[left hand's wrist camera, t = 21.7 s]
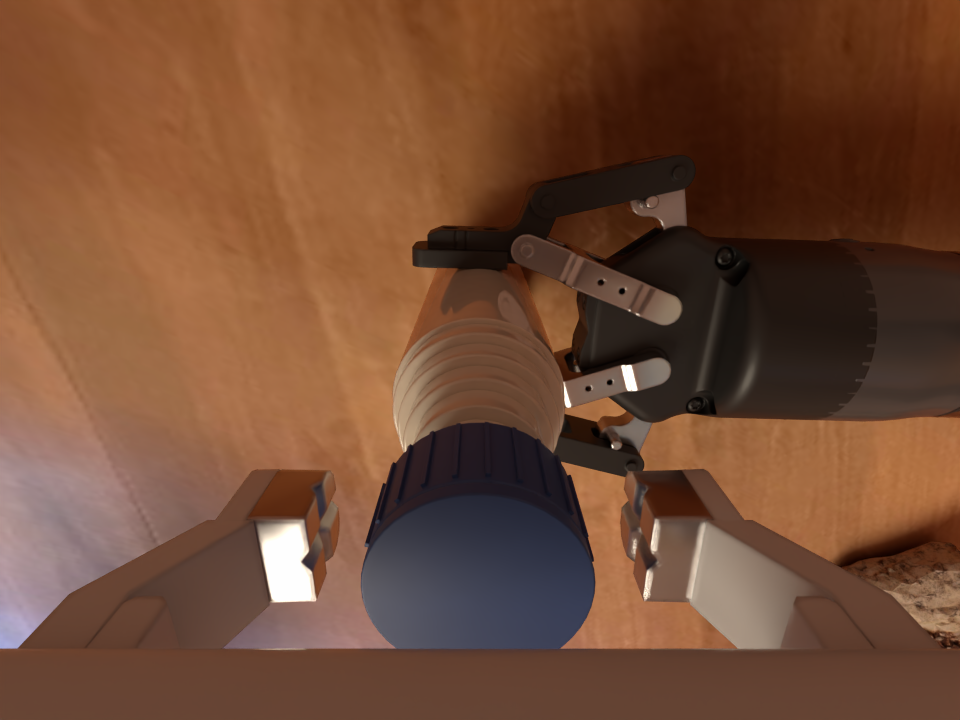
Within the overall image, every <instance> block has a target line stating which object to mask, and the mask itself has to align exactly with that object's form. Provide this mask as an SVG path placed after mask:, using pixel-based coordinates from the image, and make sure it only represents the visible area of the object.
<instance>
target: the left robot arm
mask: <svg viewBox="0 0 960 720" xmlns="http://www.w3.org/2000/svg"><path fill="white" fill-rule="evenodd" d="M335 490H336V486H335V479H334V474H333V473H332V472H331V471H330V470H279V469H257V470H254V471H252V472H251V473H250V474H249V476H248V477H247V478H246V480H245V481H244V482H243V484H242V485H241V486H240V488H239V489H238V490H237V492H236V493H235V494H234V496H233V497H232V498H231V500H230V501H229V503H228V504H227V505H226V507H225V508H224V509H223V511H222V512H221V513H220V515H219V516H218V517H217V519H216V520H207V521H205V522H203V523H201V524H199V525H198V526H196V527H194V528H192V529H190V530H188V531H186V532H184V533H183V534H181V535H179V536H177V537H175V538H173V539H171V540H170V541H168V542H166V543H164V544H162V545H160V546H158V547H156V548H155V549H153V550H151V551H149V552H147V553H145V554H143V555H141V556H140V557H138V558H136V559H134V560H132V561H130V562H128V563H126V564H125V565H123V566H121V567H119V568H117V569H115V570H113V571H112V572H110V573H108V574H106V575H104V576H102V577H100V578H98V579H97V580H95V581H93V582H91V583H89V584H87V585H85V586H83V587H82V588H80V589H78V590H76V591H74V592H72V593H70V594H69V595H68V596H67V597H66V598H65V599H64V600H63V601H62V602H61V603H60V604H59V605H58V607H57V608H56V609H55V610H54V611H53V612H52V613H51V614H50V615H49V616H48V617H47V618H46V619H45V620H44V621H43V622H42V623H41V624H40V625H39V627H38V628H37V629H36V630H35V631H34V632H33V633H32V634H31V635H30V636H29V637H28V638H27V639H26V640H25V641H24V642H23V643H22V644H21V645H20V647H19V648H18V649H0V720H960V649H942V648H941V647H940V646H939V644H938V643H937V642H936V641H935V640H934V639H933V638H932V637H931V636H930V635H929V634H928V633H927V632H926V631H925V630H924V629H923V628H922V626H921V625H920V624H919V623H918V622H917V621H916V620H915V619H914V618H913V617H912V616H911V615H910V614H909V613H908V612H907V611H906V610H905V608H904V607H903V606H902V605H901V604H900V603H899V602H898V601H897V600H896V599H895V598H894V597H893V596H892V595H891V594H889V593H887V592H885V591H884V590H882V589H880V588H878V587H876V586H874V585H872V584H870V583H869V582H867V581H865V580H863V579H861V578H859V577H857V576H856V575H854V574H852V573H850V572H848V571H846V570H844V569H843V568H841V567H839V566H837V565H835V564H833V563H831V562H829V561H828V560H826V559H824V558H822V557H820V556H818V555H816V554H815V553H813V552H811V551H809V550H807V549H805V548H803V547H801V546H800V545H798V544H796V543H794V542H792V541H790V540H788V539H787V538H785V537H783V536H781V535H779V534H777V533H775V532H774V531H772V530H770V529H768V528H766V527H764V526H762V525H760V524H759V523H757V522H755V521H753V520H744V519H743V518H742V516H741V515H740V513H739V512H738V511H737V509H736V508H735V507H734V505H733V504H732V503H731V501H730V500H729V499H728V497H727V496H726V495H725V493H724V492H723V491H722V489H721V488H720V487H719V485H718V484H717V483H716V481H715V480H714V479H713V477H712V476H711V475H710V473H709V472H708V471H706V470H704V469H690V470H665V471H628V472H627V475H626V478H625V485H624V490H625V493H626V495H627V498H628V500H629V501H628V502H627V503H626V504H625V505H624V506H623V507H622V510H621V521H620V524H621V537H622V542H623V547H624V549H625V552H626V555H627V557H629V558H630V559H631V560H633V561H634V562H635V564H634V572H633V574H634V577H635V579H636V582H637V585H638V587H639V590H640V592H641V595H642V598H643V600H644V601H659V602H691V603H690V605H691V606H692V607H694V608H695V609H696V610H697V611H698V612H699V613H700V614H701V615H702V616H703V617H704V618H705V619H707V620H708V621H709V622H710V623H711V624H712V625H713V626H714V627H715V628H716V629H717V630H719V631H720V632H721V633H722V634H723V635H724V636H725V637H726V638H727V639H728V640H729V641H731V642H732V643H733V644H734V645H735V646H736V647H737V648H738V649H222V648H223V647H224V646H225V645H226V644H227V643H229V642H230V641H231V640H232V639H233V638H234V637H235V636H236V635H237V634H238V633H239V632H241V631H242V630H243V629H244V628H245V627H246V626H247V625H248V624H249V623H250V622H251V621H253V620H254V619H255V618H256V617H257V616H258V615H259V614H260V613H261V612H262V611H263V610H265V609H266V608H267V607H268V606H269V602H300V601H316V600H317V598H318V595H319V592H320V590H321V587H322V585H323V582H324V579H325V577H326V574H327V572H326V564H325V562H326V561H327V560H329V559H330V558H331V557H333V555H334V552H335V549H336V546H337V542H338V535H339V510H338V507H337V506H336V505H335V504H334V503H333V502H332V501H331V500H332V497H333V495H334V493H335Z"/></svg>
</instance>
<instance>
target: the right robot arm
mask: <svg viewBox="0 0 960 720" xmlns="http://www.w3.org/2000/svg"><path fill="white" fill-rule="evenodd" d="M694 177H695V165H694V162H693V161H692V160H691V159H690V158H689V157H687V156H684V155H665V156H653V157H649V158H644V159H640V160H635V161H631V162H627V163H622V164H618V165H613V166H609V167H604V168H600V169H595V170H591V171H586V172H582V173H577V174H573V175H568V176H564V177H559V178H555V179H550V180H546V181H541V182H537V183H535V184H533V185H532V186H531V187H530V188H529V189H528V191H527V194H526V199H525V201H524V204H523V206H522V209H521V211H520V214H519V216H518V218H517V219H516V220H515V221H514V222H513V223H512V224H510V225H509V226H506V227H475V226H444V225H443V226H440V227H438V228H435V229H432V230H430V232H429V233H428V241H418V242H416V243H415V244H414V246H413V247H412V258H413V266H416V267H428V268H459V269H491V270H507V265H508V263H510V264H519V265H521V266H523V267H526V268H528V269H531V270H533V271H536V272H538V273H541V274H543V275H546V276H548V277H551V278H553V279H556V280H558V281H560V282H562V283H564V284H565V285H567V286H569V287H571V288H573V289H575V290H578V291H577V306H578V312H579V321H578V323H577V326H576V328H575V331H574V334H573V340H572V347H570V348H567V349H564V350H560V351H557V352H554V355H555V358H556V360H557V363H558V366H559V368H560V371H561V374H562V377H563V382H564V388H565V402H564V403H565V408H570V407H574V406H578V405H581V404H585V403H588V402H592V401H595V400H599V399H602V398H605V397H609V398H610V399H612V400H613V401H614V402H616V403H617V404H618V405H620V406H621V407H622V408H624V409H625V410H626V412H625V413H624V414H623V415H621V416H617V417H612V416H603V417H601V418H600V420H599V421H598V422H594V421H590V420H586V419H583V418H579V417H575V416H571V415H567V414H564V422H563V426H562V430H561V433H560V435H559V438H558V442H557V445H556V448H555V450H554V453H553V454H554V455H555V456H556V455H558V456H559V457H560V461H561V462H565V463H570V464H574V465H578V466H582V467H586V468H590V469H594V470H598V471H603V472H607V473H611V474H615V475H619V476H623V477H626V475H627V472H628V471H643V469H644V461H643V459H642V457H641V455H640V450H641V448H642V445H643V443H644V441H645V439H646V436H647V434H648V432H649V430H650V428H651V425H652V423H656V422H661V421H664V420H666V419H668V418H671V417H673V416H676V415H680V414H686V413H690V414H698V415H704V416H710V417H720V418H757V419H795V420H832V421H886V420H897V419H904V418H913V417H947V418H960V251H934V250H928V249H922V248H916V247H911V246H905V245H899V244H888V243H873V242H860V241H856V240H853V239H832V240H830V241H810V240H779V239H747V238H715V237H707V236H705V235H703V234H701V233H700V232H699V231H697V230H696V229H694V228H692V227H688V226H687V216H686V201H685V188H686V187H688V186H689V185H690V184H691V182H692V181H693V179H694ZM624 202H625V206H626V208H627V210H628V211H630V212H631V213H633V214H636V215H639V216H642V217H649V216H650V217H651V218H652V219H653V220H654V221H655V224H656V227H655V228H654V229H652V230H651V231H649V232H648V233H646V234H645V235H643V236H641V237H640V238H638V239H637V240H635V241H634V242H632V243H630V244H629V245H627V246H626V247H624V248H623V249H621V250H620V251H618V252H616V253H615V254H613V255H612V256H610V257H609V258H607V259H605V258H602V257H600V256H597V255H595V254H592V253H590V252H588V251H585V250H583V249H580V248H578V247H576V246H573V245H571V244H568V243H564V242H561V241H559V240H556V239H554V238H552V237H549V236H548V235H549V233H550V230H551V228H552V226H553V223H554V221H555V219H556V217H560V216H564V215H569V214H573V213H578V212H583V211H587V210H592V209H596V208H601V207H606V206H610V205H615V204H619V203H624ZM575 360H576V361H575Z"/></svg>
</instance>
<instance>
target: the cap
mask: <svg viewBox="0 0 960 720" xmlns="http://www.w3.org/2000/svg"><path fill="white" fill-rule="evenodd" d="M588 537H589V536H588V533H587V529H586V526H585V522H584V519H583V515H582V512H581V508H580V505H579V501H578V498H577V494H576V491H575V487H574V484H573V481H572V477H571V475H568V476H567V474H566V471H565V469H564V467H563V466H562V464H561V461H560V457H559V456H558V455H556V456H555V455H554V454H553V453H552V452H551V451H550V450H549V449H548V448H547V447H546V446H545V445H543V444H542V443H541V440H540V439H538V438H537V439H535V438H533V437H532V436H530V435H528V434H527V433H525V432H522V431H520V430H517V428H515V427H512V428H511V427H508V426H504V425H499V424H494V423H489V422H485V423H483V422H480V423H464V424H461V423H457V424H456V425H452V426H448V427H445V428H442V429H440V430H437V431H435V432H434V431H431V432H430V434H429V435H427V436H425V437H423V438H422V439H420V440H418V441H417V442H416V443H415V444H413V445H411V444H410V445H409V446H408V447H407V451H405V452H404V453H403V455H402V456H401V457H400V458H399V460H398V461H397V462H396V463H394V462H393V463H392V465H391V468H390V472H389V475H388V479H387V482H386V484H384V483H383V485H382V489H381V492H380V495H379V499H378V502H377V506H376V509H375V512H374V516H373V519H372V522H371V526H370V529H369V532H368V536H367V539H366V542H365V547H368V550H367V553H366V556H365V560H364V563H363V568H362V573H361V591H362V598H363V601H364V605H365V608H366V611H367V613H368V615H369V617H370V619H371V621H372V623H373V624H374V625H375V627H376V628H377V630H378V631H379V632H380V633H381V634H382V636H383V637H384V638H385V639H386V640H387V641H388V642H389V643H391V644H392V645H393V646H394V647H395V648H397V649H559V648H561V647H562V646H564V645H565V644H566V643H567V642H568V641H569V640H570V639H571V638H572V637H573V636H574V635H575V634H576V632H577V631H578V630H579V629H580V627H581V626H582V624H583V623H584V621H585V619H586V618H587V615H588V613H589V611H590V608H591V606H592V602H593V598H594V593H595V573H594V567H593V564H592V562H594V558H593V554H592V551H591V547H590V544H589V540H588Z"/></svg>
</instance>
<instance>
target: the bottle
mask: <svg viewBox="0 0 960 720" xmlns="http://www.w3.org/2000/svg"><path fill="white" fill-rule="evenodd" d="M564 402H565V388H564V382H563V377H562V374H561V371H560V368H559V366H558V363H557V360H556V358H555V355H554V352H553V350H552V347H551V345H550V342H549V339H548V337H547V334H546V331H545V329H544V326H543V324H542V321H541V318H540V316H539V313H538V310H537V308H536V305H535V303H534V300H533V297H532V295H531V292H530V289H529V287H528V284H527V282H526V279H525V276H524V274H523V271H522V268H521V266H520V265H519V264H510V263H508V265H507V270H491V269H459V268H437V270H436V272H435V275H434V278H433V280H432V283H431V285H430V288H429V290H428V293H427V295H426V298H425V301H424V303H423V306H422V308H421V311H420V313H419V316H418V319H417V321H416V324H415V326H414V329H413V331H412V334H411V336H410V339H409V342H408V344H407V347H406V349H405V352H404V354H403V357H402V360H401V362H400V365H399V367H398V370H397V372H396V376H395V380H394V385H393V419H394V424H395V428H396V431H397V434H398V436H399V441H400V444H401V447H402V450H403V452H405V451H407V447H408V446H409V445H410V444H411V445H413V444H415V443H416V442H417V441H418V440H420V439H422V438H423V437H425V436H427V435H429V434H430V432H431V431H434V432H435V431H437V430H440V429H442V428H445V427H448V426H452V425H456V424H457V423H461V424H464V423H480V422H483V423H485V422H489V423H494V424H499V425H504V426H508V427H511V428H512V427H515V428H517V430H520V431H522V432H525V433H527V434H528V435H530V436H532V437H533V438H535V439H537V438H538V439H540V440H541V443H542V444H543V445H545V446H546V447H547V448H548V449H549V450H550V451H551V452H552V453H554V450H555V448H556V445H557V442H558V438H559V435H560V433H561V430H562V426H563V422H564V414H565V403H564Z"/></svg>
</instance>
